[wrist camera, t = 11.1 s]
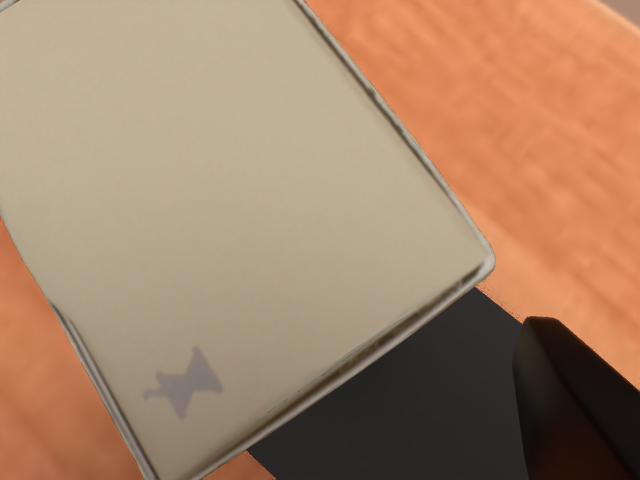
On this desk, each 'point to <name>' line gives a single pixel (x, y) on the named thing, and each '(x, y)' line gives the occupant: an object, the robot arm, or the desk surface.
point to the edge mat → (416, 409)
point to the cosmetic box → (217, 213)
